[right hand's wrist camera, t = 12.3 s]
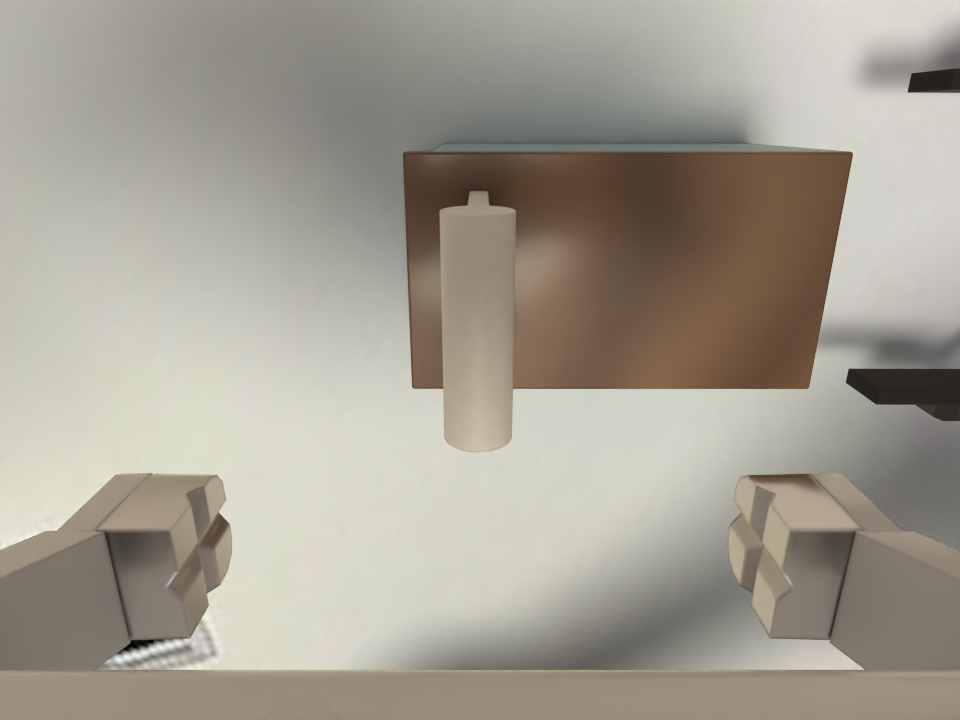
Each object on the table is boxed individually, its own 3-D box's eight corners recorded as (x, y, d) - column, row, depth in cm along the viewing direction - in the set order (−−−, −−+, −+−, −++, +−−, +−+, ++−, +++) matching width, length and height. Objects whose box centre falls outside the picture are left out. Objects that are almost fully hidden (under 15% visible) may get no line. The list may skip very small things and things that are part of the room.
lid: (413, 381, 28) (385, 488, 20) (404, 150, 25) (367, 165, 17) (799, 382, 28) (931, 489, 20) (842, 150, 25) (1020, 165, 17)
